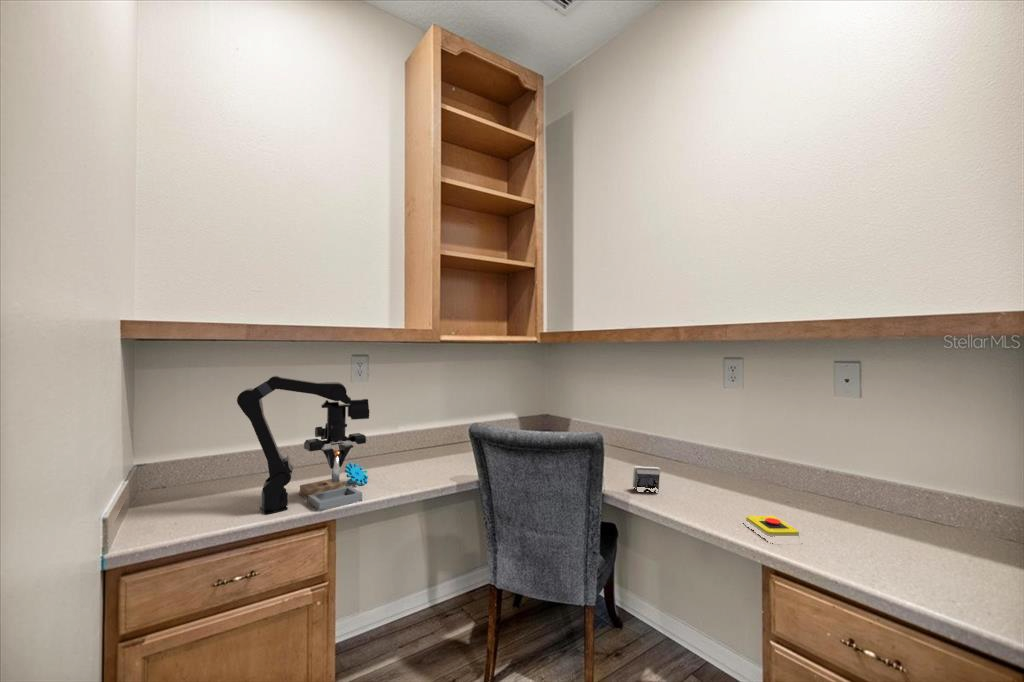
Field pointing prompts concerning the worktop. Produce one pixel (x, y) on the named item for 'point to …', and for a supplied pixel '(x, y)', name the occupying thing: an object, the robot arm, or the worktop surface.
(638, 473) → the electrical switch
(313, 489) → the wooden block
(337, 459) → the pin
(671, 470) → the worktop surface
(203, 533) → the worktop surface
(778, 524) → the emergency button
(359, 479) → the gear
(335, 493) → the tray
